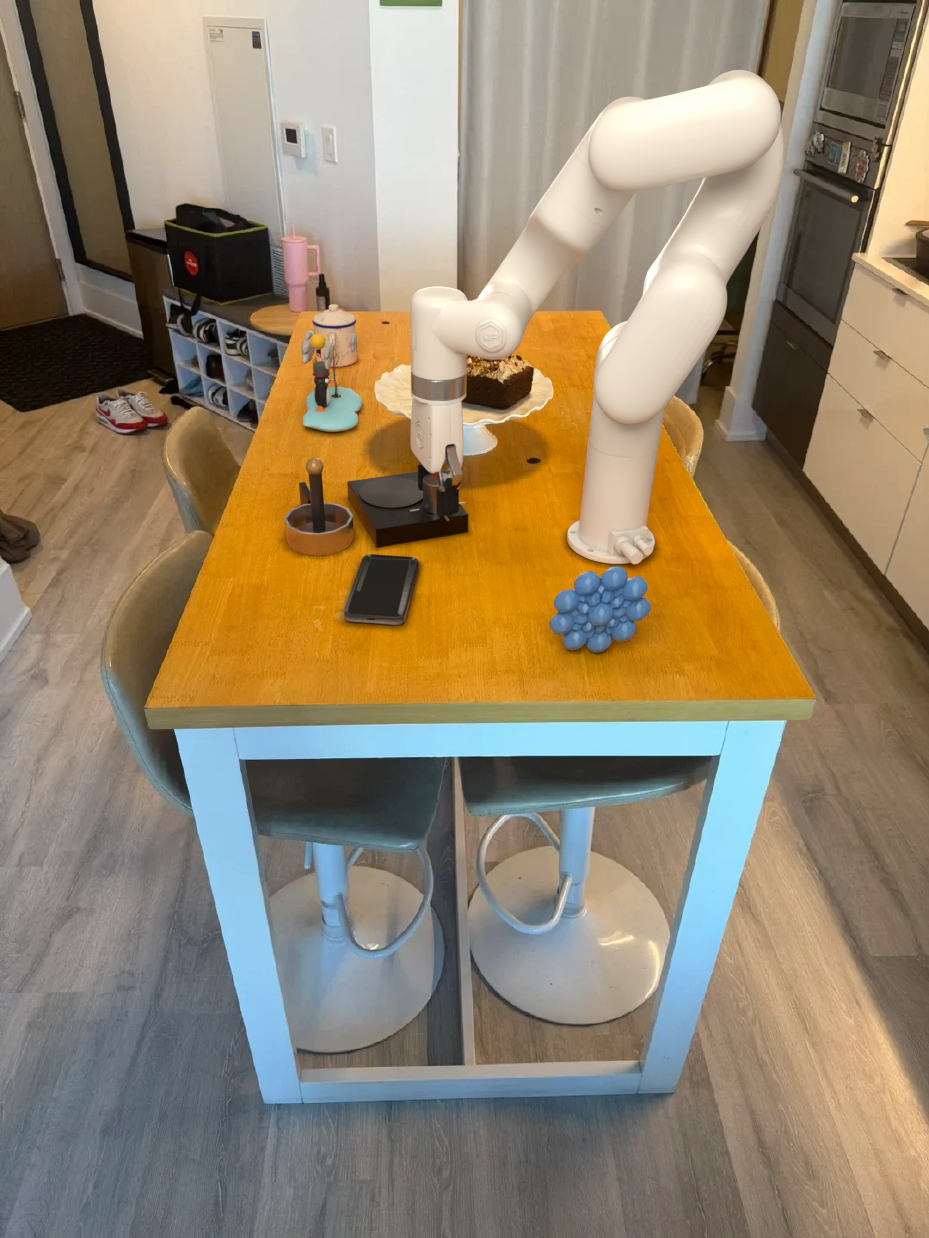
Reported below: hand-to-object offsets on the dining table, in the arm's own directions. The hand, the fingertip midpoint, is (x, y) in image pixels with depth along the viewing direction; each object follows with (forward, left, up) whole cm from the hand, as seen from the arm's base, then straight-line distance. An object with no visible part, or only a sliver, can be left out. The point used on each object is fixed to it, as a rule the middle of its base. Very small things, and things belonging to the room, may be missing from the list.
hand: (437, 500), depth 133 cm
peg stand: (+1, +17, -4) cm, 18 cm away
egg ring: (+5, +17, -4) cm, 19 cm away
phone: (-15, +13, -4) cm, 20 cm away
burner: (+6, +5, -1) cm, 8 cm away
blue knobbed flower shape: (-35, -8, -4) cm, 36 cm away
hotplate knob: (0, 0, -1) cm, 1 cm away
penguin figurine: (+46, +5, -4) cm, 47 cm away
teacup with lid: (+74, -3, -4) cm, 74 cm away
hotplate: (+4, +3, -4) cm, 7 cm away
